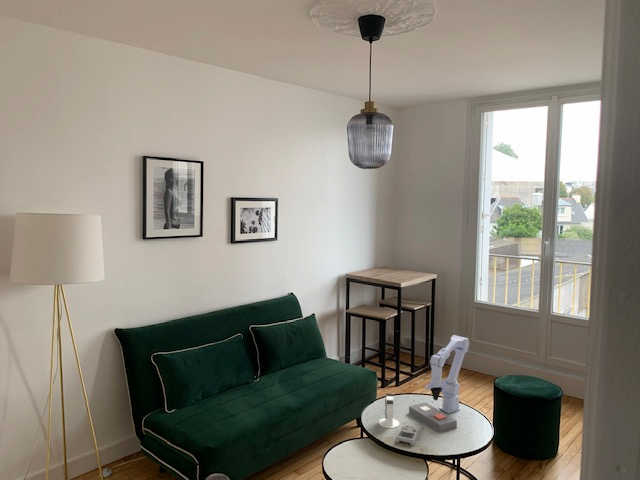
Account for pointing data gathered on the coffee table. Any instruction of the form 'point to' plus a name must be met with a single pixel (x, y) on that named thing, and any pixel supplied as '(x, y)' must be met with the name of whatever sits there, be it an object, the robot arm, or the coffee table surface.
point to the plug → (425, 408)
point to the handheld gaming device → (408, 434)
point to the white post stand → (389, 414)
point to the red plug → (439, 416)
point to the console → (430, 420)
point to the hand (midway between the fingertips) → (435, 399)
